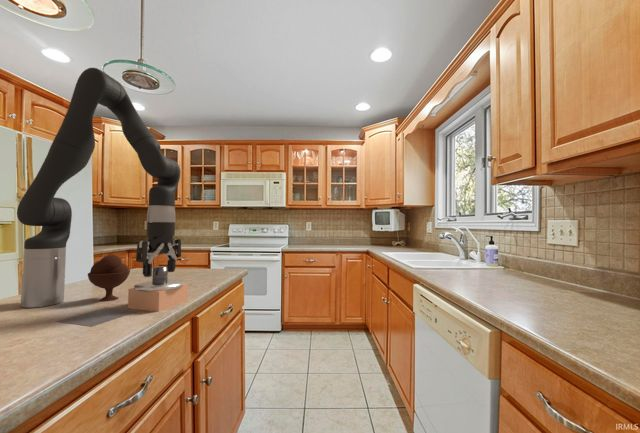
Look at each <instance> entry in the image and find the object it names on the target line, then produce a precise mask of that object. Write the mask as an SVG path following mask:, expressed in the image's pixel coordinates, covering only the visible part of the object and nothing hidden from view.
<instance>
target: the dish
mask: <svg viewBox="0 0 640 433" xmlns="http://www.w3.org/2000/svg"><path fill="white" fill-rule="evenodd" d="M127 290H128V291H127V292H128V296H127V309H131V310H132V309H133V310H141V311H151V312H162V311H164V310H166V309H170V308H172V307H175V306H177V305H180V304H183V303H186V302H188V296H189V283H185V282H184V285H183V286H181V287H178V288H174V289H169V290H162V291H137V290H134V287H132V288H128V289H127Z"/></svg>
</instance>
